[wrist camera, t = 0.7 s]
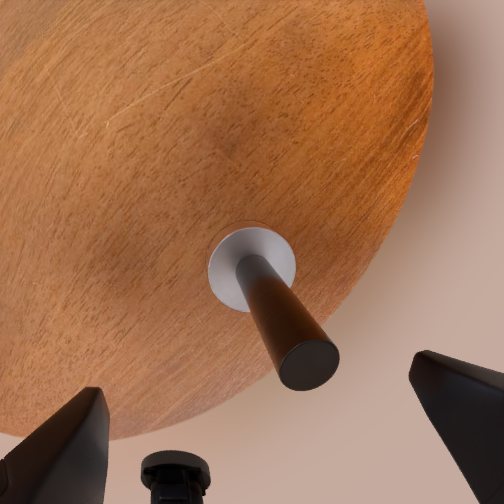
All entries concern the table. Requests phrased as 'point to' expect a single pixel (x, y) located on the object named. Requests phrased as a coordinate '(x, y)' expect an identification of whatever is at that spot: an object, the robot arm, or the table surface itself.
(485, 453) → the robot arm
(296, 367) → the paper towel holder
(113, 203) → the table surface
